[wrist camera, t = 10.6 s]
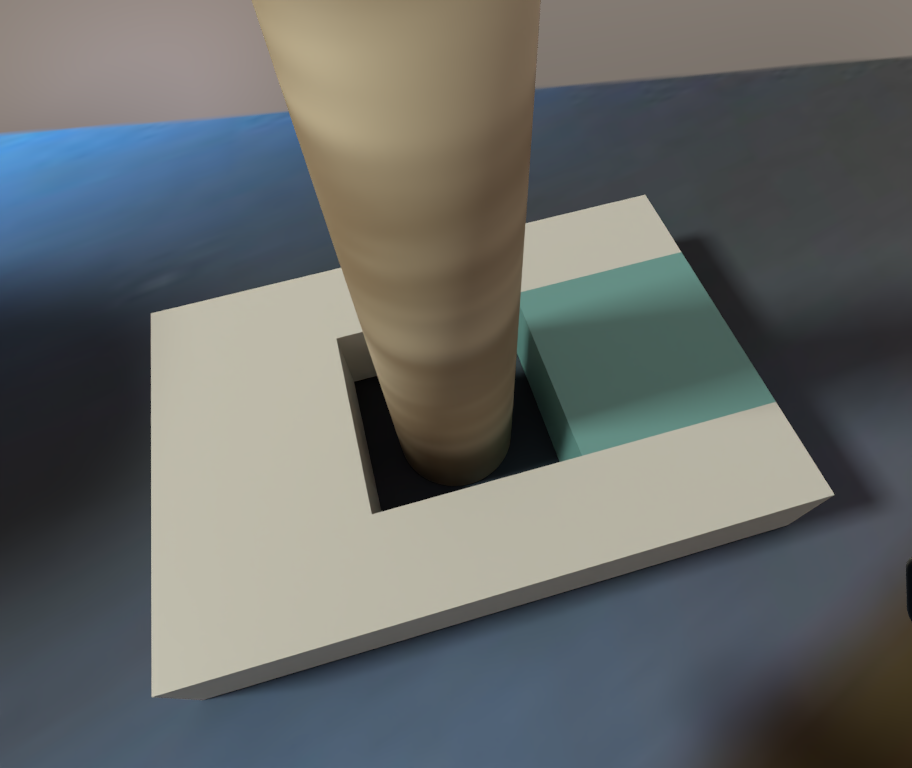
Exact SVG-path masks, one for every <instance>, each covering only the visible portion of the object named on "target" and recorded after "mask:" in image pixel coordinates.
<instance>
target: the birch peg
mask: <svg viewBox="0 0 912 768" xmlns="http://www.w3.org/2000/svg"><path fill="white" fill-rule="evenodd" d="M252 3H253V6H254V9H255V12H256V15H257V18H258V21H259V24H260V27H261V30H262V33H263V36H264V39H265V42H266V45H267V48H268V51H269V54H270V57H271V60H272V62H273V66H274V69H275V72H276V75H277V78H278V80H279V84H280V87H281V89H282V92H283V95H284V98H285V101H286V104H287V107H288V110H289V113H290V116H291V119H292V122H293V125H294V128H295V131H296V134H297V137H298V140H299V143H300V146H301V149H302V152H303V155H304V158H305V161H306V164H307V167H308V170H309V173H310V176H311V179H312V182H313V185H314V188H315V191H316V194H317V197H318V200H319V203H320V206H321V209H322V212H323V215H324V218H325V221H326V224H327V227H328V230H329V233H330V236H331V239H332V242H333V245H334V248H335V251H336V254H337V257H338V260H339V263H340V266H341V269H342V272H343V275H344V278H345V281H346V284H347V287H348V290H349V293H350V296H351V299H352V301H353V304H354V307H355V310H356V313H357V316H358V319H359V322H360V325H361V328H362V331H363V334H364V337H365V340H366V343H367V346H368V349H369V352H370V355H371V358H372V361H373V364H374V367H375V370H376V373H377V376H378V379H379V382H380V385H381V388H382V391H383V394H384V397H385V400H386V403H387V406H388V409H389V412H390V415H391V418H392V421H393V424H394V427H395V430H396V433H397V436H398V439H399V442H400V445H401V448H402V451H403V454H404V456H405V458H406V460H407V461H408V463H409V464H410V466H411V467H412V468H413V469H414V470H415V471H416V472H417V473H418V474H419V475H421V476H422V477H424V478H425V479H427V480H429V481H432V482H434V483H437V484H441V485H446V486H463V485H468V484H472V483H475V482H477V481H479V480H482V479H484V478H485V477H487V476H488V475H490V474H491V473H492V472H493V471H495V470H496V469H497V468H498V466H499V465H500V464H501V463H502V461H503V460H504V458H505V456H506V454H507V452H508V449H509V446H510V440H511V428H512V414H513V399H514V384H515V370H516V355H517V341H518V326H519V311H520V297H521V282H522V267H523V253H524V238H525V223H526V209H527V194H528V180H529V165H530V150H531V136H532V121H533V106H534V92H535V77H536V63H537V48H538V47H537V46H538V33H539V19H540V4H541V0H252Z"/></svg>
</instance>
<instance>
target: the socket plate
mask: <svg viewBox="0 0 912 768" xmlns="http://www.w3.org/2000/svg"><path fill="white" fill-rule="evenodd" d="M517 354H518V357H519V359H520V362H521V364H522V367H523V369H524V372H525V375H526V377H527V380H528V382H529V385H530V387H531V390H532V392H533V395H534V398H535V400H536V403H537V405H538V408H539V410H540V413H541V416H542V418H543V421H544V423H545V426H546V428H547V431H548V434H549V436H550V439H551V441H552V444H553V446H554V449H555V451H556V454H557V457H558V459H559V462H558V463H555V464H551V465H547V466H544V467H540V468H537V469H533V470H529V471H526V472H522V473H519V474H515V475H511V476H508V477H504V478H501V479H497V480H494V481H490V482H486V483H483V484H479V485H476V486H472V487H468V488H465V489H461V490H458V491H454V492H450V493H447V494H443V495H440V496H436V497H432V498H429V499H425V500H422V501H418V502H415V503H411V504H407V505H404V506H400V507H397V508H393V509H389V510H386V511H382V512H381V507H380V502H379V497H378V493H377V488H376V483H375V478H374V474H373V469H372V464H371V459H370V455H369V450H368V445H367V440H366V436H365V431H364V426H363V421H362V417H361V412H360V407H359V403H358V398H357V393H356V388H355V384H354V382H355V381H359V380H363V379H367V378H371V377H375V376H377V373H376V370H375V367H374V364H373V361H372V358H371V355H370V352H369V349H368V346H367V343H366V340H365V337H364V334H363V331H362V328H361V325H360V322H359V319H358V316H357V313H356V310H355V307H354V304H353V301H352V299H351V296H350V293H349V290H348V287H347V284H346V281H345V278H344V275H343V272H342V269H341V268H338V269H334V270H330V271H326V272H322V273H318V274H313V275H309V276H305V277H301V278H297V279H293V280H288V281H284V282H280V283H276V284H272V285H268V286H263V287H259V288H255V289H251V290H247V291H243V292H238V293H234V294H230V295H226V296H222V297H218V298H213V299H209V300H205V301H201V302H197V303H193V304H188V305H184V306H180V307H176V308H172V309H168V310H163V311H159V312H155V313H151V599H152V697H157V698H174V699H191V700H205V699H208V698H211V697H215V696H218V695H221V694H225V693H228V692H231V691H235V690H238V689H242V688H245V687H248V686H252V685H255V684H258V683H262V682H265V681H268V680H272V679H275V678H278V677H282V676H285V675H288V674H292V673H295V672H298V671H302V670H305V669H308V668H312V667H315V666H318V665H322V664H325V663H328V662H332V661H335V660H338V659H342V658H345V657H349V656H352V655H355V654H359V653H362V652H365V651H369V650H372V649H375V648H379V647H382V646H385V645H389V644H392V643H395V642H399V641H402V640H405V639H409V638H412V637H415V636H419V635H422V634H425V633H429V632H432V631H435V630H439V629H442V628H445V627H449V626H452V625H456V624H459V623H462V622H466V621H469V620H472V619H476V618H479V617H482V616H486V615H489V614H492V613H496V612H499V611H502V610H506V609H509V608H512V607H516V606H519V605H522V604H526V603H529V602H532V601H536V600H539V599H542V598H546V597H549V596H553V595H556V594H559V593H563V592H566V591H569V590H573V589H576V588H579V587H583V586H586V585H589V584H593V583H596V582H599V581H603V580H606V579H609V578H613V577H616V576H619V575H623V574H626V573H629V572H633V571H636V570H639V569H643V568H646V567H649V566H653V565H656V564H660V563H663V562H666V561H670V560H673V559H676V558H680V557H683V556H686V555H690V554H693V553H696V552H700V551H703V550H706V549H710V548H713V547H716V546H720V545H723V544H726V543H730V542H733V541H736V540H740V539H743V538H746V537H750V536H753V535H757V534H760V533H763V532H767V531H770V530H773V529H777V528H780V527H783V526H787V525H789V524H790V523H792V522H793V521H795V520H797V519H798V518H800V517H801V516H803V515H804V514H806V513H807V512H809V511H810V510H812V509H813V508H815V507H817V506H818V505H820V504H821V503H823V502H824V501H826V500H827V499H829V498H830V497H832V496H834V493H833V491H832V490H831V488H830V487H829V485H828V483H827V482H826V480H825V479H824V477H823V476H822V474H821V472H820V471H819V469H818V468H817V466H816V464H815V463H814V461H813V460H812V458H811V457H810V455H809V453H808V452H807V450H806V449H805V447H804V445H803V444H802V442H801V441H800V439H799V438H798V436H797V434H796V433H795V431H794V430H793V428H792V426H791V425H790V423H789V422H788V420H787V419H786V417H785V415H784V414H783V412H782V411H781V409H780V407H779V406H778V404H777V403H776V401H775V400H774V398H773V396H772V395H771V393H770V392H769V390H768V388H767V387H766V385H765V384H764V382H763V381H762V379H761V377H760V376H759V374H758V373H757V371H756V369H755V368H754V366H753V365H752V363H751V362H750V360H749V358H748V357H747V355H746V354H745V352H744V350H743V349H742V347H741V346H740V344H739V343H738V341H737V339H736V338H735V336H734V335H733V333H732V331H731V330H730V328H729V327H728V325H727V324H726V322H725V320H724V319H723V317H722V316H721V314H720V312H719V311H718V309H717V308H716V306H715V305H714V303H713V301H712V300H711V298H710V297H709V295H708V293H707V292H706V290H705V289H704V287H703V286H702V284H701V282H700V281H699V279H698V278H697V276H696V274H695V273H694V271H693V270H692V268H691V267H690V265H689V263H688V262H687V260H686V259H685V257H684V255H683V254H682V252H681V251H680V249H679V248H678V246H677V244H676V243H675V241H674V240H673V238H672V236H671V235H670V233H669V232H668V230H667V229H666V227H665V225H664V224H663V222H662V221H661V219H660V217H659V216H658V214H657V213H656V211H655V210H654V208H653V206H652V205H651V203H650V202H649V200H648V198H647V197H646V195H642V196H638V197H634V198H630V199H626V200H622V201H617V202H613V203H609V204H605V205H601V206H597V207H592V208H588V209H584V210H580V211H576V212H572V213H567V214H563V215H559V216H555V217H551V218H547V219H542V220H538V221H534V222H530V223H526V224H525V238H524V253H523V267H522V282H521V297H520V311H519V326H518V341H517Z"/></svg>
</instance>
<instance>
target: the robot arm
mask: <svg viewBox="0 0 912 768" xmlns="http://www.w3.org/2000/svg"><path fill="white" fill-rule="evenodd" d="M906 589H907V611H908V614H909V617H910V619H911V621H912V557H911V558H910V559H909V560H908V562H907V564H906Z"/></svg>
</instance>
